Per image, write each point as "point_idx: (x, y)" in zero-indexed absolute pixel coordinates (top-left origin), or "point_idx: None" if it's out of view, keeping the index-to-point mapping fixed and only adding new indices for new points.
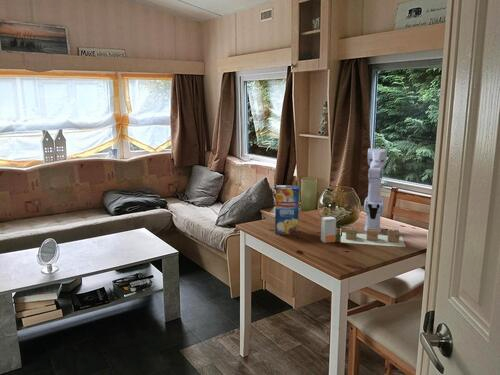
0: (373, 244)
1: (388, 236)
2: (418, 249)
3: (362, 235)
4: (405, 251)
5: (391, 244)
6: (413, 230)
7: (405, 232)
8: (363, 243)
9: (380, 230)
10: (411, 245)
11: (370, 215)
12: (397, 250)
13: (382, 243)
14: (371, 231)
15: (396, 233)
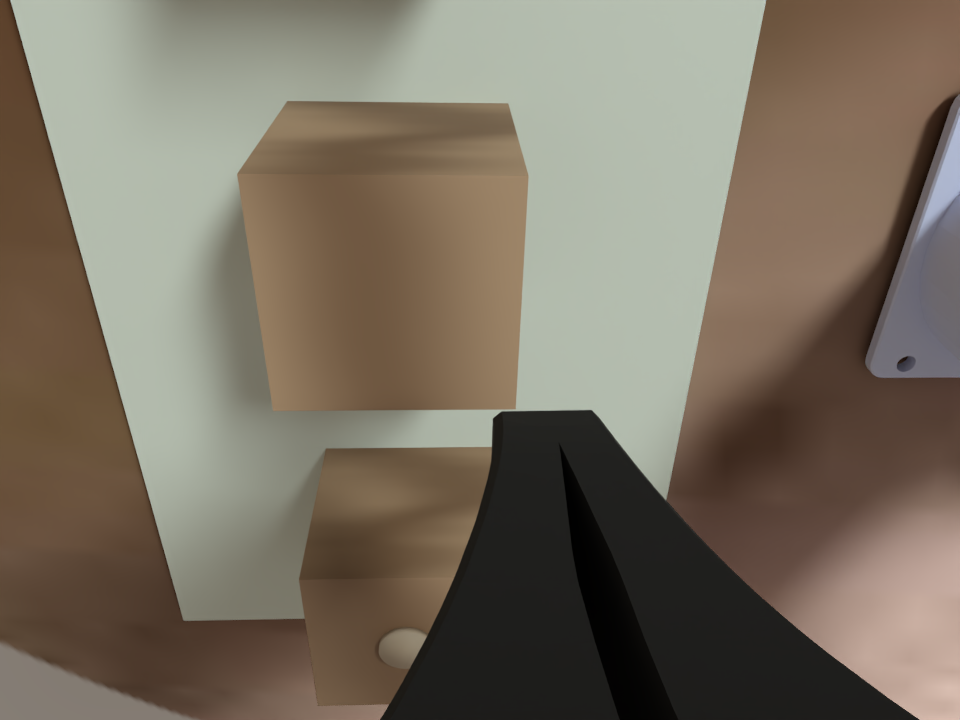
0: (81, 222)
1: (316, 514)
2: (189, 706)
3: (637, 15)
4: (32, 600)
5: (218, 482)
6: (939, 712)
7: (861, 644)
8: (49, 17)
9: (947, 377)
10: None
11: (484, 494)
12: (19, 526)
13: (213, 369)
14: (256, 271)
15: (313, 660)
